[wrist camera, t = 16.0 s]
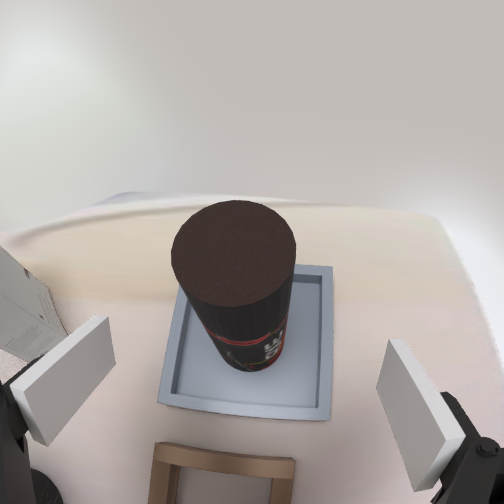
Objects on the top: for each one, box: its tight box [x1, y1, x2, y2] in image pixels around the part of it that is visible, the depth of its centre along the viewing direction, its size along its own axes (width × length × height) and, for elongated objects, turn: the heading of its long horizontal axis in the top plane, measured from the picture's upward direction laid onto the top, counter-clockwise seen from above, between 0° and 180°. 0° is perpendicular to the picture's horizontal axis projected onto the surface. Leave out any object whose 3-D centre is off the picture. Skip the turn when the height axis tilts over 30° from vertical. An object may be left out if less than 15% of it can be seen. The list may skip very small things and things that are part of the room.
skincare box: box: [0, 246, 68, 362], centre depth 23 cm, size 8×6×15 cm
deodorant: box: [171, 200, 296, 372], centre depth 21 cm, size 6×6×15 cm
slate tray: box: [157, 264, 333, 421], centre depth 27 cm, size 14×14×2 cm
